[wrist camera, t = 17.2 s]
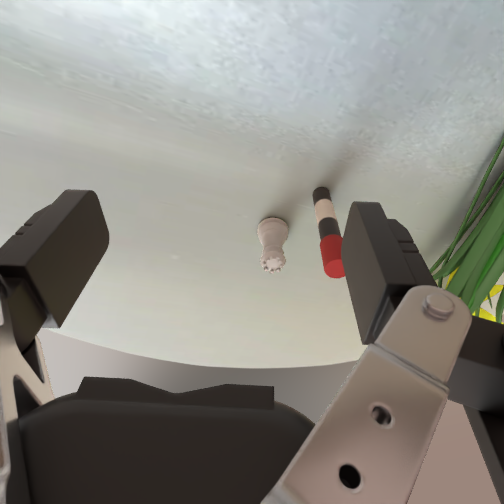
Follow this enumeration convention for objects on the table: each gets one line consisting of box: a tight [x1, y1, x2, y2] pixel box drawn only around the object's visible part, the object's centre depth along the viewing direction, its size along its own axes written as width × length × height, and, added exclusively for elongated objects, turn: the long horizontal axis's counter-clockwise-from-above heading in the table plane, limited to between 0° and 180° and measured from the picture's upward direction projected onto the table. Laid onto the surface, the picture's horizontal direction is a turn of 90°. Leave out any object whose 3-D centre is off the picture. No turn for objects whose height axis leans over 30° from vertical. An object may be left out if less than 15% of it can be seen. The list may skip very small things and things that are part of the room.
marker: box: [313, 187, 345, 278], centre depth 38 cm, size 3×3×14 cm
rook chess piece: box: [257, 218, 288, 274], centre depth 45 cm, size 4×4×8 cm
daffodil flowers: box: [429, 137, 504, 324], centre depth 42 cm, size 17×15×35 cm
